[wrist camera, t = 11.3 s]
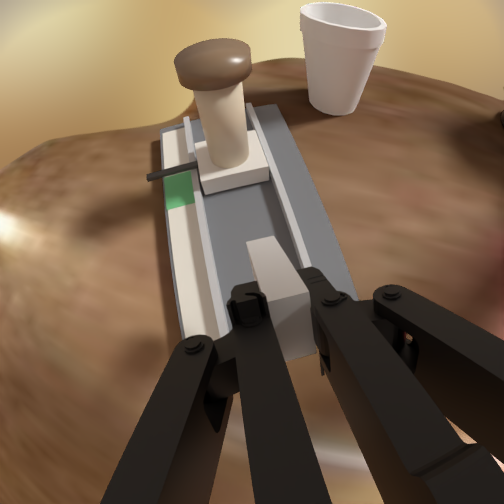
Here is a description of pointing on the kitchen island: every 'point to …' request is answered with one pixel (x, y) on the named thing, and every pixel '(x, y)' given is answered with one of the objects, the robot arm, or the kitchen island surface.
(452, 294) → the kitchen island surface
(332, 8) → the foam cup
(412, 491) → the robot arm
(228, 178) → the tuning slider
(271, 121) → the board
